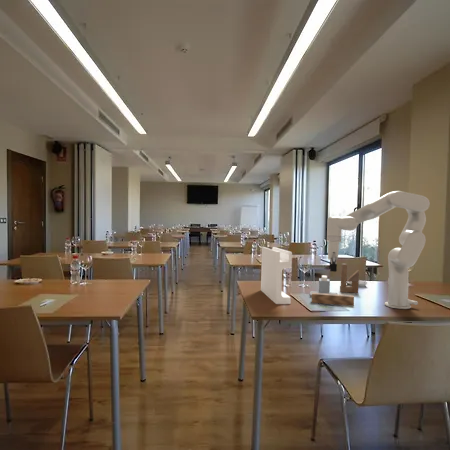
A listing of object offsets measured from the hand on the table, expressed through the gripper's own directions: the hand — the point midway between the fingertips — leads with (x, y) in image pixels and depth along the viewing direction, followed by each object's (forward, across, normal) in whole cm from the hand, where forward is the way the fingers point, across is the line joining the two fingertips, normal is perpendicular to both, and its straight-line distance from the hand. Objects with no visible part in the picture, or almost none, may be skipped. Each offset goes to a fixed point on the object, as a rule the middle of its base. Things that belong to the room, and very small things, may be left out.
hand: (332, 270), depth 188 cm
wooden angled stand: (+18, -35, +12) cm, 41 cm away
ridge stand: (+18, -16, -4) cm, 25 cm away
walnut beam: (+18, 0, 0) cm, 19 cm away
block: (+19, -5, -32) cm, 37 cm away
